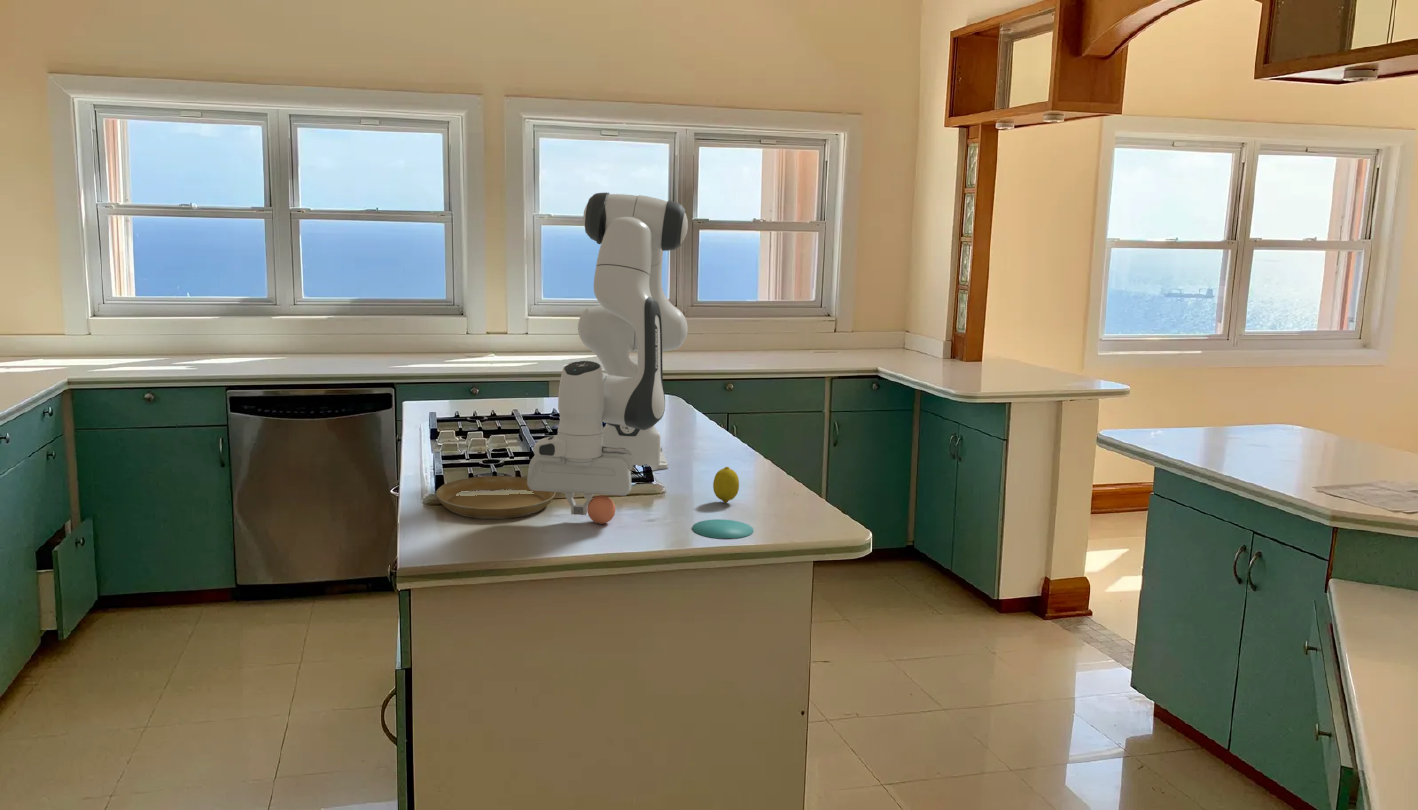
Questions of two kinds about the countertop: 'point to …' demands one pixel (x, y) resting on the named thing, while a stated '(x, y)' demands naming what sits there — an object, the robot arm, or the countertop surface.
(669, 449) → the countertop surface
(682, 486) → the countertop surface
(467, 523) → the countertop surface
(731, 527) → the disc
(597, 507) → the ball
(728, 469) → the lemon
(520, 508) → the plant saucer
